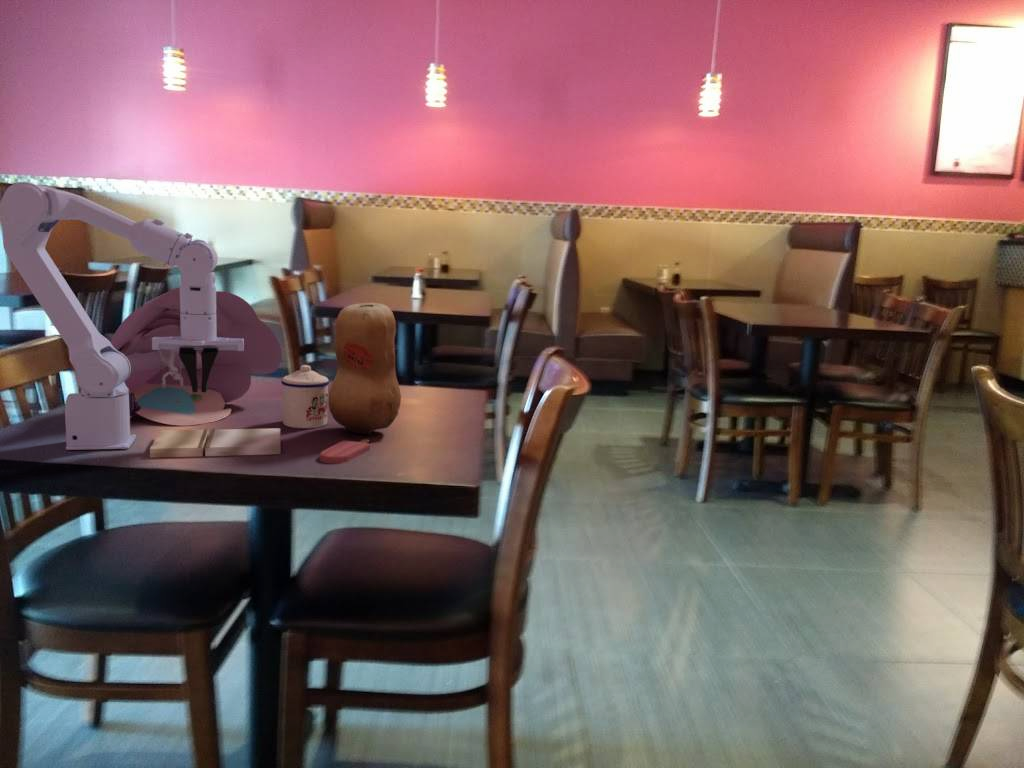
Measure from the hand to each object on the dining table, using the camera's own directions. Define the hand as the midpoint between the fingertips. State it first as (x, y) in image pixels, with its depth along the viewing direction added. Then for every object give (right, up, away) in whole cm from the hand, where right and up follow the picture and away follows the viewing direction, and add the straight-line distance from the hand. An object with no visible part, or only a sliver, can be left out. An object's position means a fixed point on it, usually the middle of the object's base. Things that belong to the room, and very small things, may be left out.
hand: (199, 391), depth 135 cm
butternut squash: (+25, -8, +16) cm, 31 cm away
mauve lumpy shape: (-12, -5, +22) cm, 26 cm away
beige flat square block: (+7, -10, +2) cm, 12 cm away
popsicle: (+25, -11, +2) cm, 28 cm away
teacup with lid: (+13, -7, +21) cm, 26 cm away
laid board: (-3, -10, -1) cm, 10 cm away
